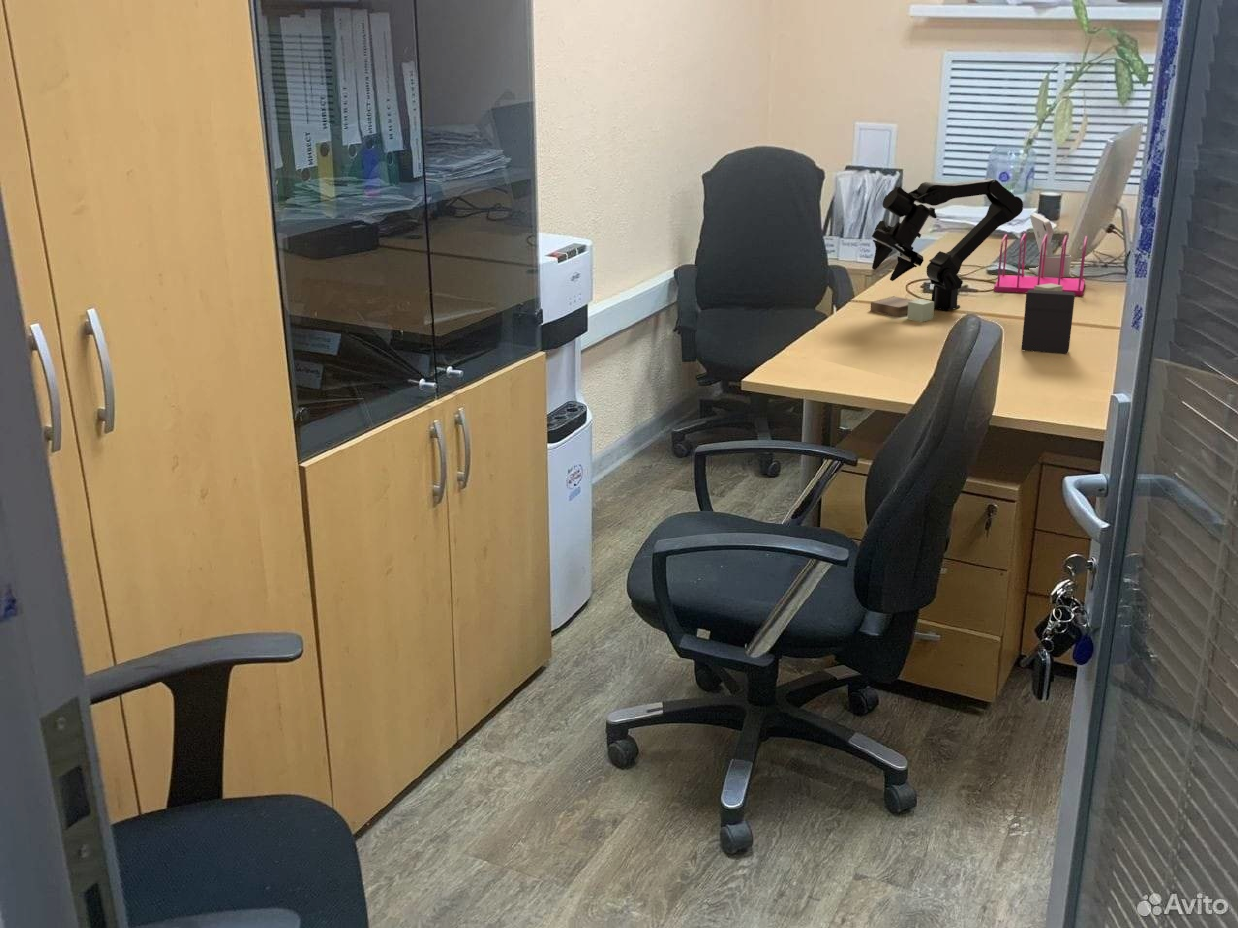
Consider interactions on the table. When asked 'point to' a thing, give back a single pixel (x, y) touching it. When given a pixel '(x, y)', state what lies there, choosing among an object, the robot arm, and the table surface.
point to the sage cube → (920, 310)
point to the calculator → (1048, 321)
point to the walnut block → (891, 306)
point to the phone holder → (1048, 249)
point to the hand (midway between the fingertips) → (882, 274)
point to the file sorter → (1028, 282)
